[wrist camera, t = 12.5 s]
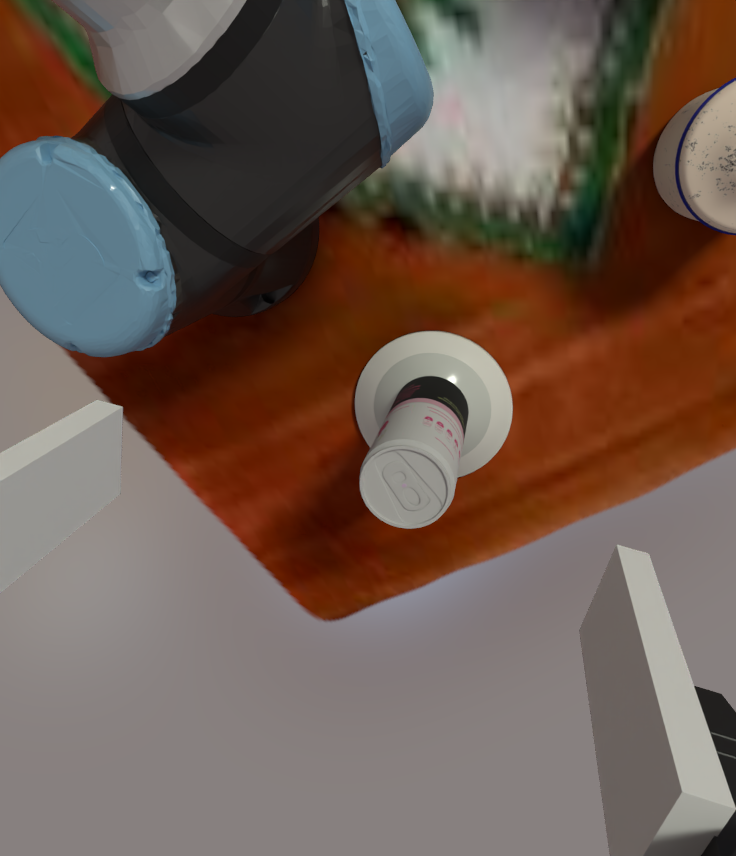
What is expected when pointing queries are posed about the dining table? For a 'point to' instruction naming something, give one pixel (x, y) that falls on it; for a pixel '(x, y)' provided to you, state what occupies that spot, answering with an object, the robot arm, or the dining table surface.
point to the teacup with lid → (701, 160)
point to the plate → (448, 361)
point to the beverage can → (416, 454)
